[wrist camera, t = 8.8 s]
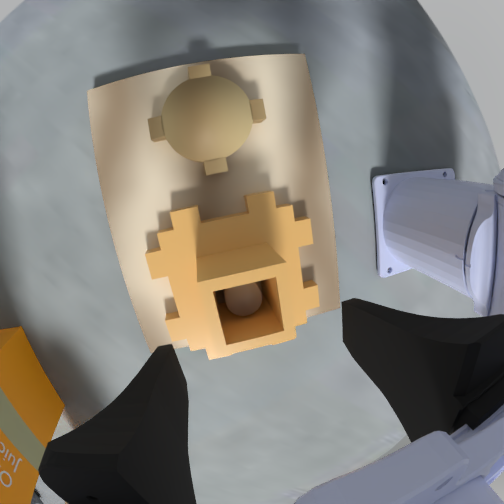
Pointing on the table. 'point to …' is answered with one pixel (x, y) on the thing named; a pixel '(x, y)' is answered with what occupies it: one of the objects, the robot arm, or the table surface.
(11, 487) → the orange juice
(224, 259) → the gear
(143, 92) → the carrier plate
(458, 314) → the table surface
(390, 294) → the table surface
